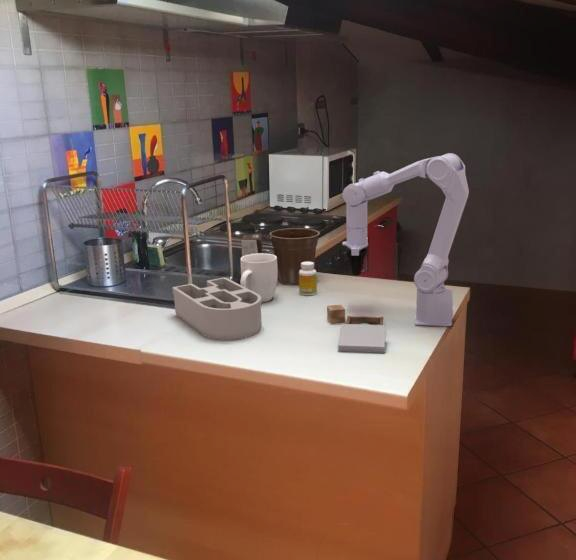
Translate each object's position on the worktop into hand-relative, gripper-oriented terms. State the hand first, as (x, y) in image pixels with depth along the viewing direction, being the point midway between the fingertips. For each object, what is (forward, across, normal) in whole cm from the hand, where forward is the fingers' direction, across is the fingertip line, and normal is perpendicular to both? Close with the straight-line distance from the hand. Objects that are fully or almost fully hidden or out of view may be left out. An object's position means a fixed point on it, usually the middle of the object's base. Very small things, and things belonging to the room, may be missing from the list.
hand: (356, 274), depth 178 cm
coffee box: (+11, -22, -35) cm, 43 cm away
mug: (+11, -6, -30) cm, 32 cm away
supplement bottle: (+11, -14, -16) cm, 24 cm away
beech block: (+10, +10, -5) cm, 15 cm away
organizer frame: (+10, +18, +3) cm, 21 cm away
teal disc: (+11, +16, +3) cm, 19 cm away
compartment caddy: (+11, +14, -36) cm, 40 cm away
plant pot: (+11, -28, -22) cm, 37 cm away
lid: (+9, +27, +3) cm, 29 cm away
